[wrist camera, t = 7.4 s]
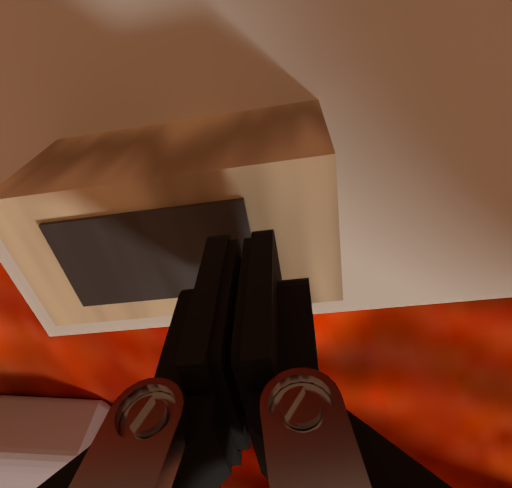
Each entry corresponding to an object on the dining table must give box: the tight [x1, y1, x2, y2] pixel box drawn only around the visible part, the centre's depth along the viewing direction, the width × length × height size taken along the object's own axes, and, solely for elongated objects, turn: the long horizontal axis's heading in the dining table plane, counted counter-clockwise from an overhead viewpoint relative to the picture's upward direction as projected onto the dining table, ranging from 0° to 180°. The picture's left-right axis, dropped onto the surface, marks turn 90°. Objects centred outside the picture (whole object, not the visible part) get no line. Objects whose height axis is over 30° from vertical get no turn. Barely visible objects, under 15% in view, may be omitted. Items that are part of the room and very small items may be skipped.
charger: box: [0, 395, 111, 488], centre depth 27 cm, size 5×9×15 cm
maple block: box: [0, 99, 343, 326], centre depth 14 cm, size 5×5×10 cm
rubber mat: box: [0, 0, 512, 337], centre depth 16 cm, size 24×16×1 cm, turn 99°
